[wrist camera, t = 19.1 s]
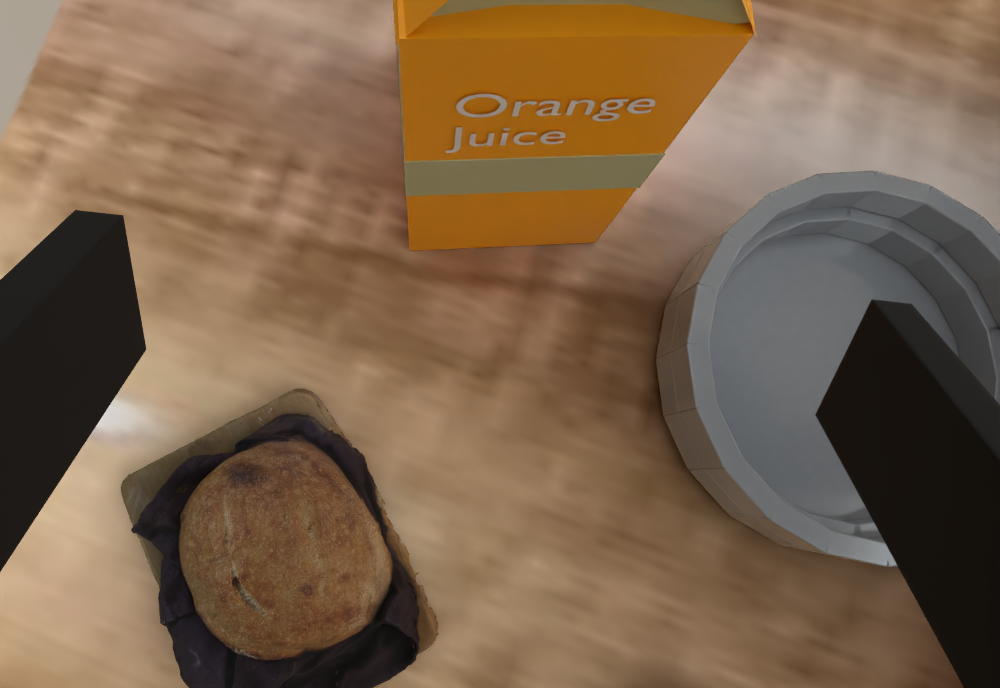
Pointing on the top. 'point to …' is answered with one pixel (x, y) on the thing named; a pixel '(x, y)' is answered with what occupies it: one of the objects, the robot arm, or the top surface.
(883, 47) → the top surface
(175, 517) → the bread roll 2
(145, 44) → the top surface
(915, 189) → the pan
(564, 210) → the orange juice
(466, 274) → the top surface
